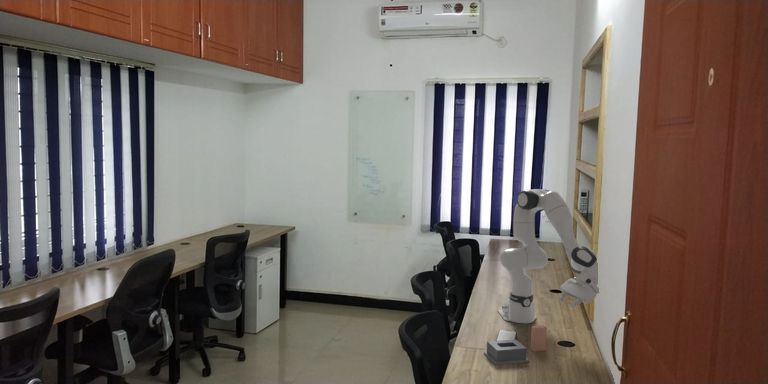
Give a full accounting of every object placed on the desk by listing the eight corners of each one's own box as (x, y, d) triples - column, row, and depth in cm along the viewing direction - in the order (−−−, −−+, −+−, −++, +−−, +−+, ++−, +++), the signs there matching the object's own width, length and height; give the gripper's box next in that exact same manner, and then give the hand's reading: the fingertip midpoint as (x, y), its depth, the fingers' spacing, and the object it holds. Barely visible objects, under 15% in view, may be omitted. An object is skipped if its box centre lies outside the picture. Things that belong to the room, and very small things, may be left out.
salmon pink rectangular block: (530, 348, 248) (531, 325, 247) (542, 348, 249) (543, 325, 248) (533, 351, 245) (534, 328, 244) (545, 350, 246) (546, 327, 245)
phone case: (514, 346, 252) (517, 334, 267) (514, 343, 251) (517, 331, 267) (495, 344, 254) (499, 332, 270) (495, 340, 254) (499, 329, 269)
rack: (483, 353, 241) (484, 340, 240) (516, 351, 244) (516, 338, 244) (495, 364, 229) (495, 351, 229) (529, 362, 233) (529, 348, 232)
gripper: (569, 272, 258) (549, 292, 257) (594, 282, 239) (574, 305, 237) (576, 281, 260) (557, 301, 258) (603, 292, 240) (582, 314, 239)
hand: (565, 303), depth 248 cm, fingers open, 8 cm apart
